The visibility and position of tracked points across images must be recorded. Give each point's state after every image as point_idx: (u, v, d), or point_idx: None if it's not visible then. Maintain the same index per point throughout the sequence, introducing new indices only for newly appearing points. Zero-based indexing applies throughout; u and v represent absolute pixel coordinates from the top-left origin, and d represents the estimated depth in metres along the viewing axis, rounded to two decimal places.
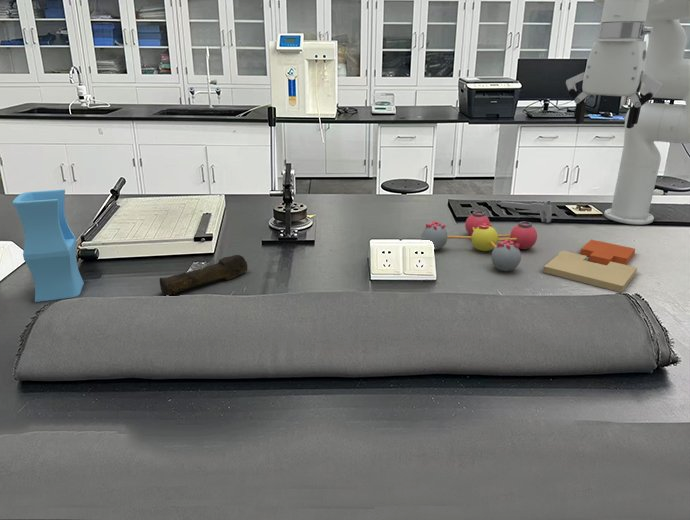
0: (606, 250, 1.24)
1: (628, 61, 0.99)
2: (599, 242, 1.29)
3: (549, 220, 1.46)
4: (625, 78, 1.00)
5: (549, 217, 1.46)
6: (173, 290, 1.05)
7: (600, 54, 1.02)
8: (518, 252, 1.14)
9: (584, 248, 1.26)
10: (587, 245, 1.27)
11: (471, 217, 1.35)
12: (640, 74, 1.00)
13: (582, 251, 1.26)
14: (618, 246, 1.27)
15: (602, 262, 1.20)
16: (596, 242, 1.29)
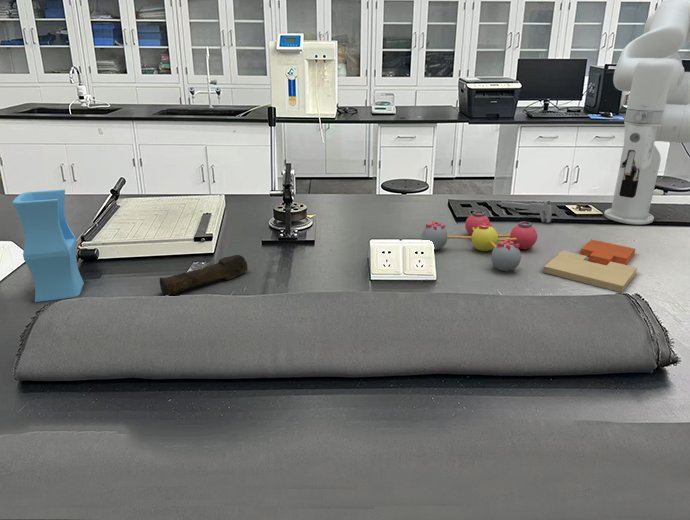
0: (606, 250, 1.24)
1: None
2: (599, 242, 1.29)
3: (549, 220, 1.46)
4: None
5: (549, 217, 1.46)
6: (173, 290, 1.05)
7: None
8: (518, 252, 1.14)
9: (584, 248, 1.26)
10: (587, 245, 1.27)
11: (471, 217, 1.35)
12: (626, 152, 1.20)
13: (582, 251, 1.26)
14: (618, 246, 1.27)
15: (602, 262, 1.20)
16: (596, 242, 1.29)
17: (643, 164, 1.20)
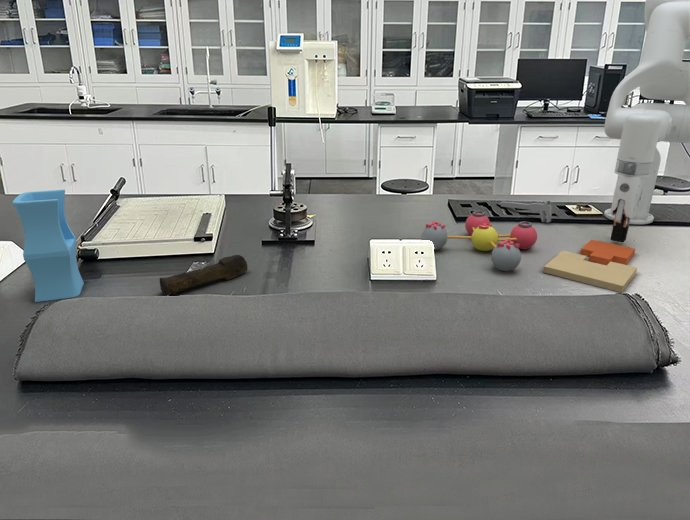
0: (606, 250, 1.24)
1: None
2: (599, 242, 1.29)
3: (549, 220, 1.46)
4: None
5: (549, 217, 1.46)
6: (173, 290, 1.05)
7: None
8: (518, 252, 1.14)
9: (584, 248, 1.26)
10: (587, 245, 1.27)
11: (471, 217, 1.35)
12: (616, 201, 1.25)
13: (582, 251, 1.26)
14: (618, 246, 1.27)
15: (602, 262, 1.20)
16: (596, 242, 1.29)
17: (633, 213, 1.24)
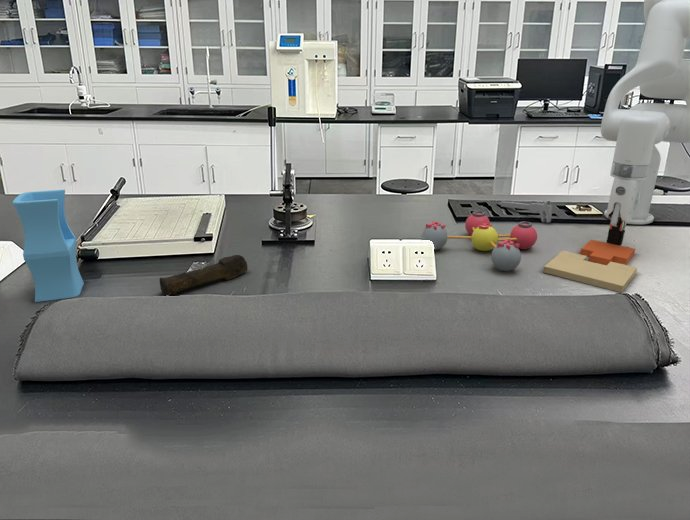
0: (606, 251, 1.24)
1: None
2: (599, 242, 1.29)
3: (549, 220, 1.46)
4: None
5: (549, 217, 1.46)
6: (173, 290, 1.05)
7: None
8: (518, 252, 1.14)
9: (584, 248, 1.26)
10: (587, 245, 1.27)
11: (471, 217, 1.35)
12: (612, 204, 1.22)
13: (582, 251, 1.26)
14: (618, 246, 1.27)
15: (602, 262, 1.20)
16: (595, 242, 1.29)
17: (629, 216, 1.22)
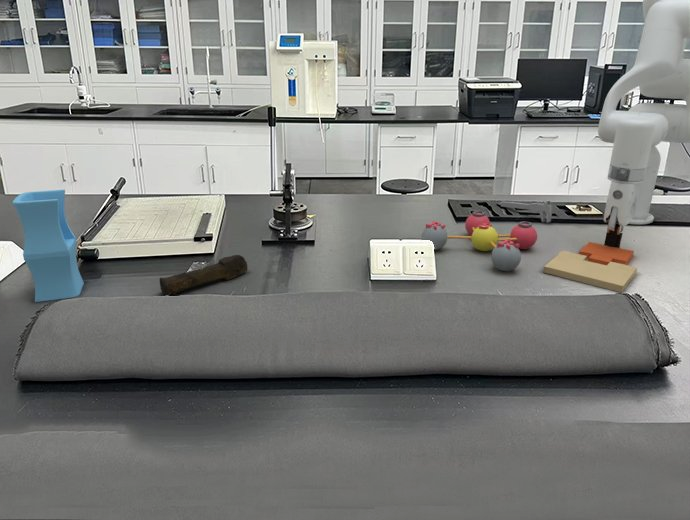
0: (605, 253, 1.23)
1: None
2: (597, 244, 1.28)
3: (549, 220, 1.46)
4: None
5: (549, 217, 1.46)
6: (173, 290, 1.05)
7: None
8: (518, 252, 1.14)
9: (582, 250, 1.24)
10: (585, 247, 1.26)
11: (471, 217, 1.35)
12: (609, 208, 1.21)
13: (581, 254, 1.24)
14: (616, 248, 1.26)
15: None
16: (594, 245, 1.28)
17: (626, 220, 1.20)
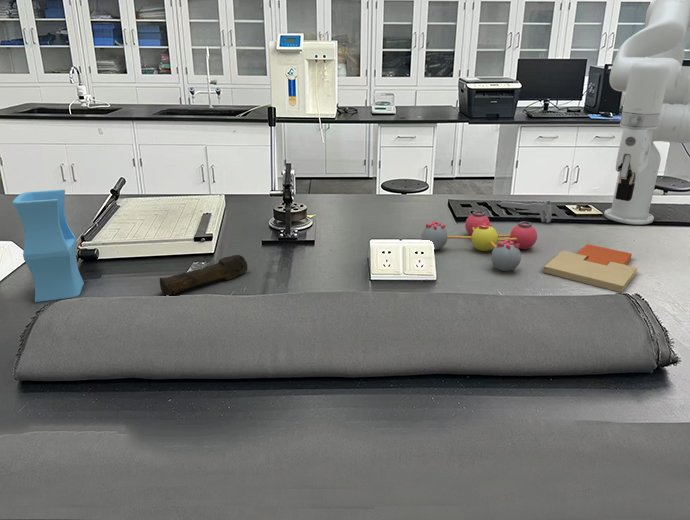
0: (602, 256, 1.21)
1: None
2: (595, 247, 1.26)
3: (549, 220, 1.46)
4: None
5: (549, 217, 1.46)
6: (173, 290, 1.05)
7: None
8: (518, 252, 1.14)
9: (580, 253, 1.23)
10: (583, 250, 1.24)
11: (471, 217, 1.35)
12: (622, 155, 1.18)
13: None
14: (614, 251, 1.24)
15: None
16: (591, 247, 1.26)
17: (639, 168, 1.18)
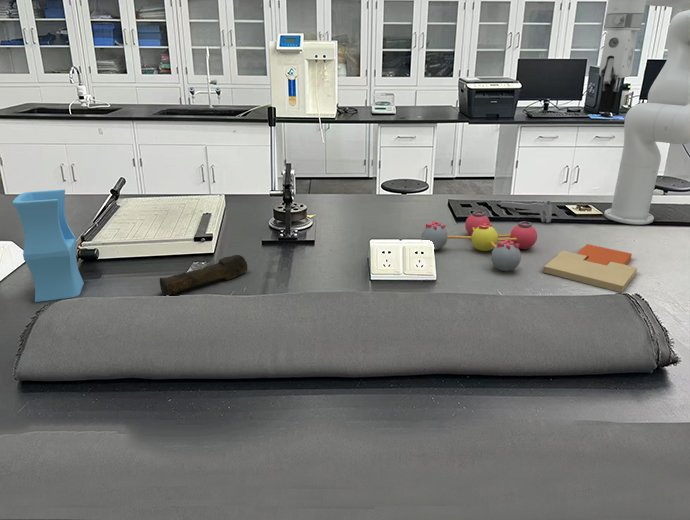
0: (602, 256, 1.21)
1: None
2: (595, 247, 1.26)
3: (549, 220, 1.46)
4: None
5: (549, 217, 1.46)
6: (173, 290, 1.05)
7: None
8: (518, 252, 1.14)
9: (580, 253, 1.23)
10: (583, 250, 1.24)
11: (471, 217, 1.35)
12: (605, 58, 1.18)
13: None
14: (614, 251, 1.24)
15: None
16: (591, 247, 1.26)
17: (622, 71, 1.17)
